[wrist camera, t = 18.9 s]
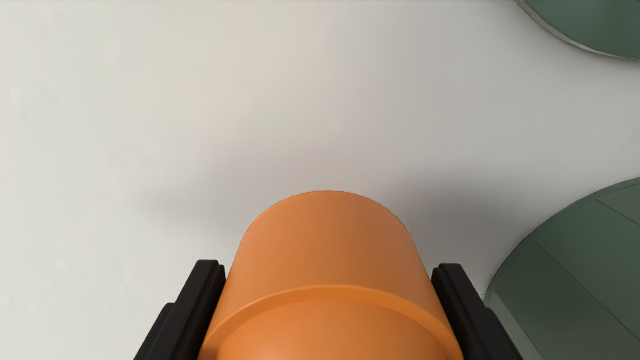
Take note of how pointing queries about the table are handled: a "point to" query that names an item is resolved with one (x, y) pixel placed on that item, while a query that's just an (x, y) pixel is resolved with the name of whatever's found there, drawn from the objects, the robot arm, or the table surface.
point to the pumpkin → (328, 288)
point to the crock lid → (591, 23)
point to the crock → (576, 282)
